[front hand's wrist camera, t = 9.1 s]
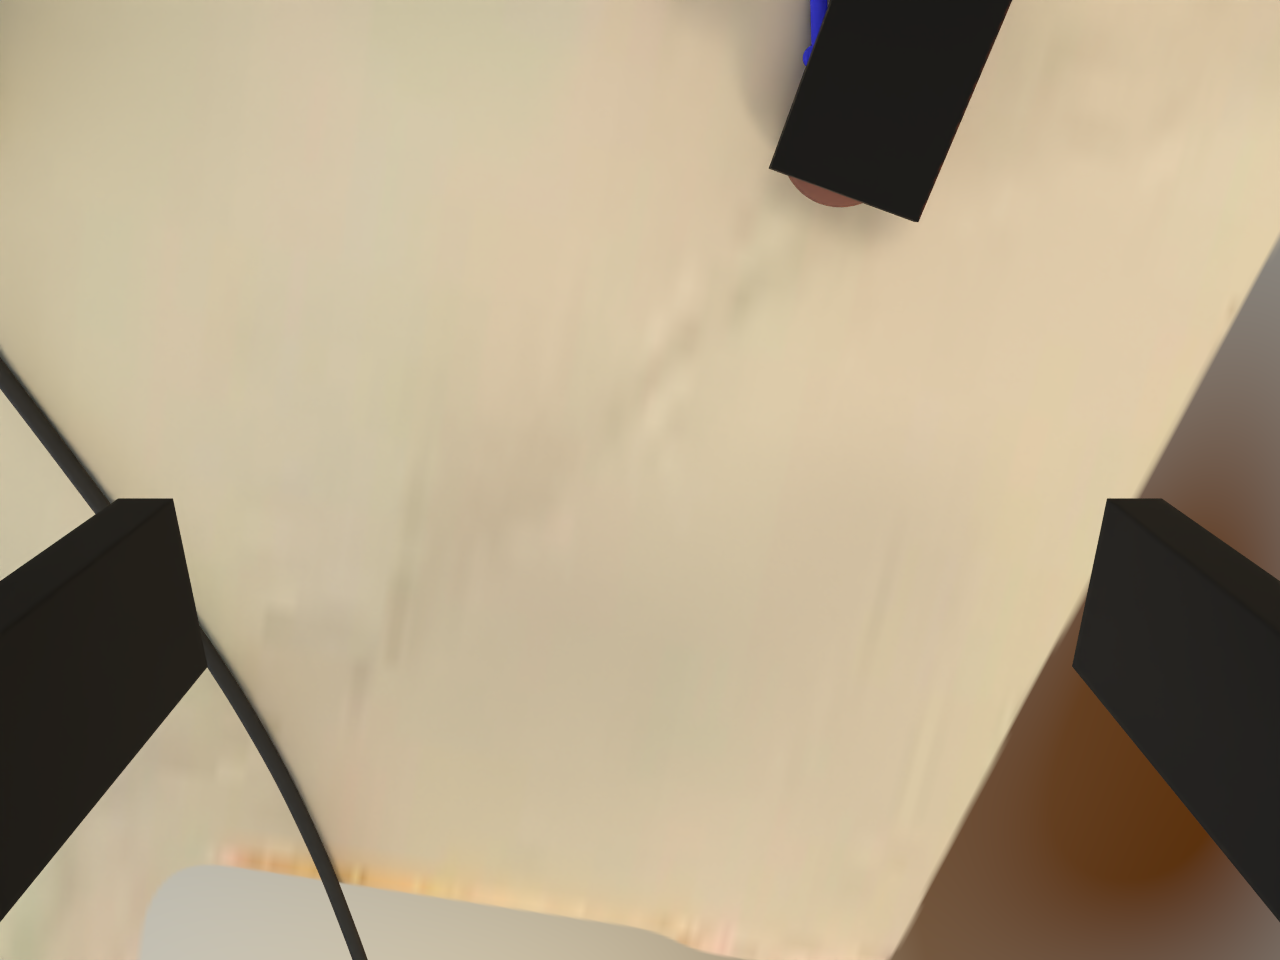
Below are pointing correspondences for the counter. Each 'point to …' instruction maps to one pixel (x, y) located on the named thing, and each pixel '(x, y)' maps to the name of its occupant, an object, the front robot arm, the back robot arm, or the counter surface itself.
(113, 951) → the counter surface
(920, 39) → the figurine character
